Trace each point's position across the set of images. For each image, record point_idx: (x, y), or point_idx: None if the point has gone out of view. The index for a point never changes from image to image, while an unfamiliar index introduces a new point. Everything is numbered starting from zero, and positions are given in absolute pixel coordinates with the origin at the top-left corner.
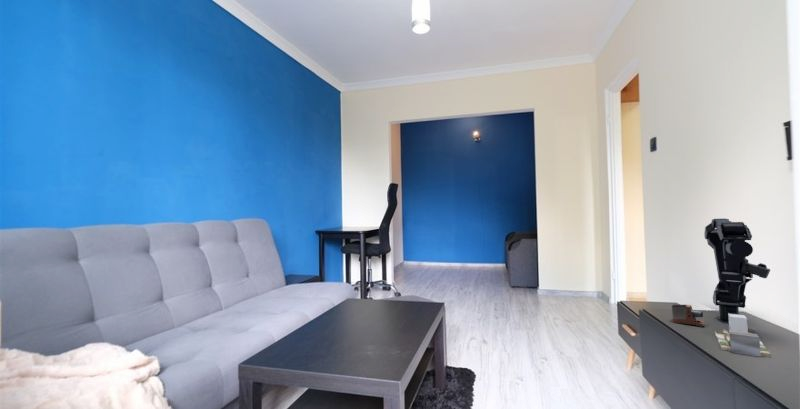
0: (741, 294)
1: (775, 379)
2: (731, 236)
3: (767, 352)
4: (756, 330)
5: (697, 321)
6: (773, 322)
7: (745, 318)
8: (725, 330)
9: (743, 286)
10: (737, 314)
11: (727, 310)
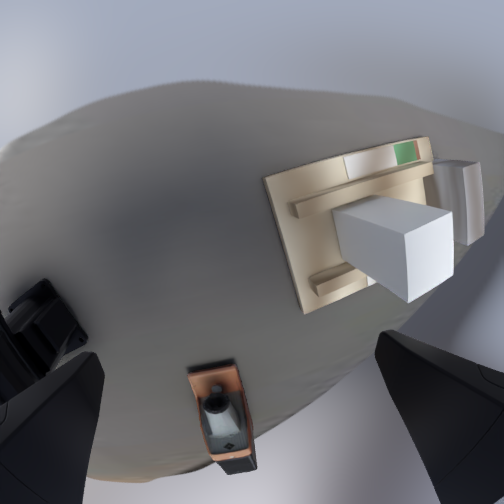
0: (86, 382)
1: (498, 142)
2: None
3: (422, 142)
4: (94, 217)
5: (221, 388)
6: None
7: (450, 216)
8: (333, 282)
9: (22, 443)
10: (408, 264)
11: (53, 353)
